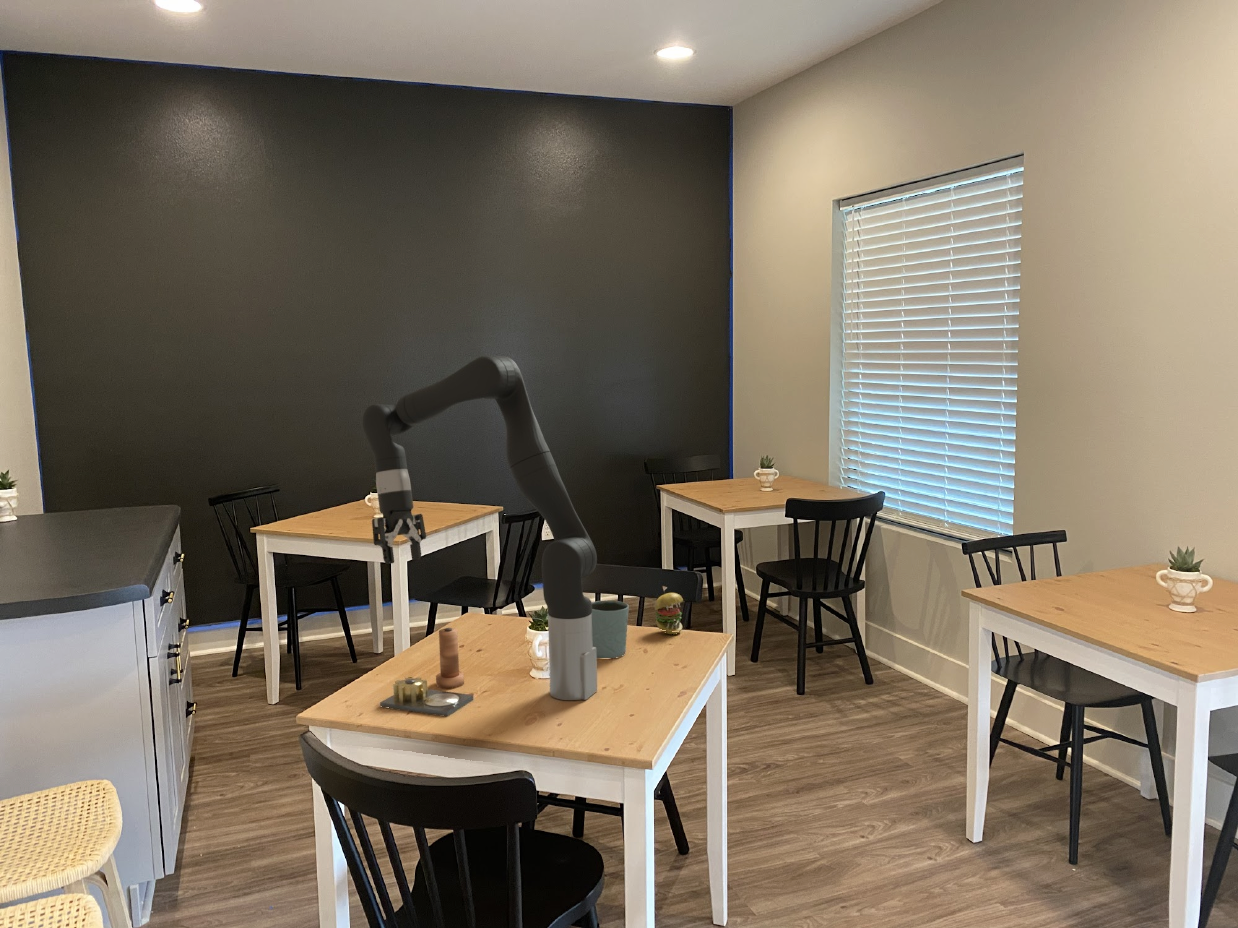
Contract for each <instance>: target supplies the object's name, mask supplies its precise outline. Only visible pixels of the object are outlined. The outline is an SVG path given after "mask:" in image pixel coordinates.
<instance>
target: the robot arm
mask: <svg viewBox="0 0 1238 928" xmlns="http://www.w3.org/2000/svg"><path fill="white" fill-rule="evenodd" d="M479 399H485V400H495V401H496V404H497V405H498V408H499V410H500V413H501V415H502V417H503V420H504V423H505V429H506V439H505V441H506V443H505V445H506V447H505V449H506V459H507V463H508V466H509V467H508V468H509V469H510V472H511V474H512V476H513V479H514V481H515V483H516V485H517V488H518V489H519V491H520V493H521V494H522V496H523V497H524V498H525V499H526V500H527V502H529V503H530V505H531V506H533V508H534V509H536V511H537V512H538V513H539V514H540V515H541V517H542V518H543V519H544V521H545V523H546V524H547V526H548V528H549V530H550V532H551V535H552V538H553V539H554V541H552V542H551V543H549V544H548V545H547V546H545V548H544V551H543V553H542V558H541V578H542V580H541V581H542V591H543V599H544V602H545V604H546V607H547V621H548V623H547V625H548V626H547V627H548V658H549V659H548V660H549V661H548V663H549V664H548V666H549V669H548V670H549V692H550V693H549V694H550V696H551V697H552V698H554V699H556V700H557V699H558V700H562V701H579V700H585V701H587V700H588V699H589V698H590V697H591V696H592V695H594V694H595V693H596V692H597V691H598V667H597V666H598V665H597V662H598V661H597V655H596V647H593V641H592V600H591V599H590V598H589V597H587V596H585V595H584V593H583V592H584V591H583V579H584V578H586V577H589V575H591V574H593V572H594V571H595V569H596V566H597V563H598V562H597V561H598V558H597V557H598V555H597V550H596V548H595V546H594V545H595V544H594V543H593V541H592V539H591V537H590V535H589V534H588V532H587V530H586V528H585V527H584V525H583V523H582V521H581V519H580V517H579V516H578V513H577V512H576V510H575V508H574V505H573V503H572V501H571V498H570V496H569V493H568V491H567V488H566V486H565V484H564V482H563V480H562V477H561V475H560V473H559V469H558V467H557V464H556V461H555V459H554V458H553V455H552V452H551V450H550V448H549V446H548V444H547V441H546V440H545V437H544V435H543V432H542V430H541V427H540V425H539V422H538V420H537V418H536V416H535V413H534V410H533V408H532V405H531V404H532V403H531V401H530V398H529V395H528V391H527V388H526V384H525V380H524V377H523V374H522V372H521V370H520V368H519V366H518V364H517V363H516V362H515V361H514V360H513V359H512V358H511V357H510V356H509V357H508V356H505V355H481V356H478V357H477V358H475V359H473V360H472V361H470V362H469V363H467V364H466V365H464V366H462V367H460V368H459V369H457V370H456V371H455V372H453V373H452V374H450V375H449V376H446V377H445V378H442V379H441V380H439V381H436V382H434V383H432V384H431V383H430V384H429V385H427V386H424V387H422V388H418V389H417V390H414V391H411V392H409V393H407V394H404V395H403V396H401V397H400V398H398V401H397V402H396V404H382V403H373V404H370V405H368V406H366V408H365V409H364V411H363V414H362V420H361V423H362V424H361V425H362V429H363V432H364V435H365V438H366V440H367V443H368V445H369V448H370V450H371V452H372V454H373V459H374V460H373V461H374V468H375V473H376V474H375V476H376V477H375V483H376V491H377V499H378V507H379V513H380V514H382V517H376V518H375V517H374V518H372V520H371V524H372V525H371V526H372V536H373V537H372V539H373V544H374V546H378V547H381V551H382V559H383V562H384V563H385V565H390V564H394V563H395V557H394V556H395V555H394V549H393V546H392V545H393V542H394V540H395V539H396V538H397V536H403V537H405V538H406V539H407V540H408V542H409V543H410V544H409V547H410V554H411V559H412V561H416V560H417V561H418V560H421V559H422V550H421V549H422V548H421V542H422V541H423V540H426V539H427V534H426V528H425V521H424V515H423V514H422V513H416V514H413V513H412V510H413V509H414V500H413V491H412V485H411V479H410V475H409V469H408V465H407V457H406V456H407V455H406V450H405V448H404V446H402V445H400V444H397V443H396V442H395V441H394V440H393V438H392V436H397V435H398V436H399V435H401V434H403V433H406V432H408V431H410V430H411V429H412V428H414V427H415V426H416V425H418V424H421V423H424V422H425V421H428V420H431V419H434V418H436V417H438V416H440V415H442V414H444V413H445V412H446V411H447V410H449V409H450V408H452V407H453V406H455V405H458V404H460V403H464V402H469V401H474V400H479Z"/></svg>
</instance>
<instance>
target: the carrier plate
mask: <svg viewBox="0 0 1238 928" xmlns="http://www.w3.org/2000/svg"><path fill="white" fill-rule="evenodd" d="M427 694H428V695H426V698H424V699H418V700H416V701H415V702H411V701H404V702H399V699H396V700H394V694H392V695H391V696H389V697H387V698H385V699H384V700H382V701H380V702H379V705H380V706H382V707H389V708H388V709H390V708H393V709H392V710H397V709H400V710H399V711H404V710H409V711H408V712H411V711H413V712H414V713H418V712H422V713H421V714H426V713H427V715H433V714H436V715H435V716H440V715H444V716H443V717H447V716H448V715H449V716H451V715H452V714H454V713H455V712H456V711H458V710H460V709H462V708H463V707H464V706H466V705H467V704H469V703H471V702H473V700H474V695H473V694H470V693H469V694H468V693H460V692H455V691H454V692H451V691H444V690H437V689H429V688H427ZM380 706H379V707H380ZM382 707H381V708H382ZM450 714H451V715H450ZM449 716H448V717H449Z"/></svg>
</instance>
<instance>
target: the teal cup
mask: <svg viewBox="0 0 1238 928" xmlns="http://www.w3.org/2000/svg"><path fill="white" fill-rule="evenodd" d="M591 603H592V641H593V647H596V655H597V658H616V657H620V658H622V657H621V656H622V655H624V654H625V655H626V651H627V650H626V649H627V638H628V637H627V636H628V634H627V633H628V621H629V619H628V618H629V611H630V610H629V609H630V607H629V606H630V605H629V604H628V603H626V602H623V601H619V600H597V601H591ZM625 655H624V656H625ZM616 659H617V658H616Z"/></svg>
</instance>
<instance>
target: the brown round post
mask: <svg viewBox="0 0 1238 928" xmlns="http://www.w3.org/2000/svg"><path fill="white" fill-rule="evenodd" d="M458 637H459V635H458V628H454V627H446V628H442V629H439V630H438V641H439V666H440V667H439V668H440V669H439V671H440V672H438V673H437V674H436V675H435V682H436V684H435V686H436V687H437V688H439V689H446V690H448V689H456V688H460V687H462V686H463V685H464V684H465V673H464V672H462V671H460V663H459V661H460V660H459V638H458Z"/></svg>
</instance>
